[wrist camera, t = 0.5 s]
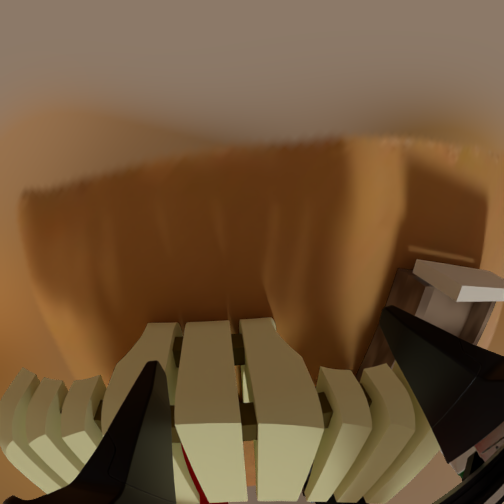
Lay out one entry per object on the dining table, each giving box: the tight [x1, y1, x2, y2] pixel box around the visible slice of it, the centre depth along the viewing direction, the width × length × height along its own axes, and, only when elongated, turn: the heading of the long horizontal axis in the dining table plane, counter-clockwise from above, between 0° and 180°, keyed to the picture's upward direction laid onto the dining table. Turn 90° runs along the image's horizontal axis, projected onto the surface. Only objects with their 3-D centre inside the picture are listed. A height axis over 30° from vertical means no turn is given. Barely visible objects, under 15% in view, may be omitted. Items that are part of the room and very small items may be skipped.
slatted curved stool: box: [0, 317, 441, 504], centre depth 19 cm, size 30×16×18 cm, turn 91°
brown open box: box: [355, 268, 496, 383], centre depth 27 cm, size 17×18×8 cm
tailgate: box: [412, 259, 504, 302], centre depth 22 cm, size 2×17×7 cm, turn 81°
